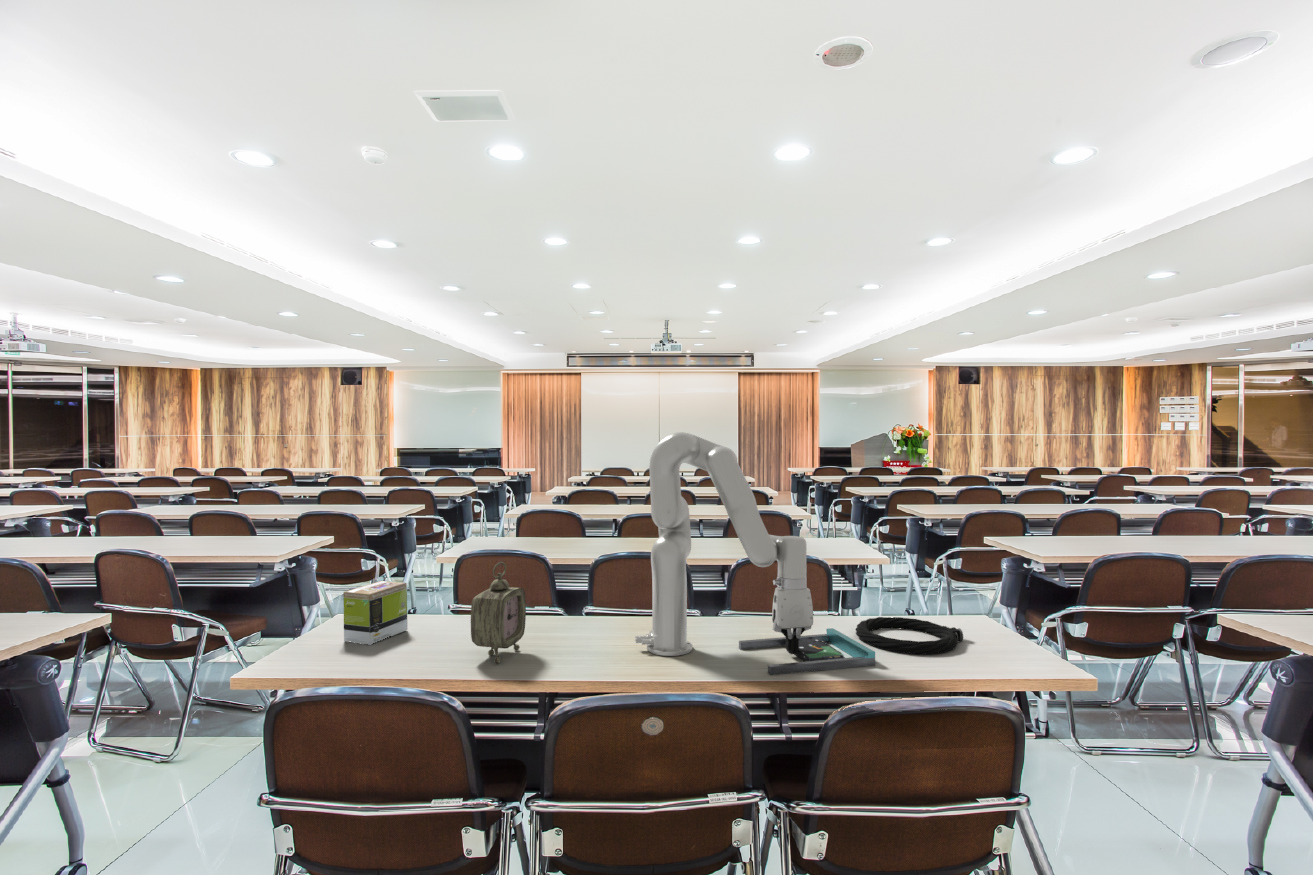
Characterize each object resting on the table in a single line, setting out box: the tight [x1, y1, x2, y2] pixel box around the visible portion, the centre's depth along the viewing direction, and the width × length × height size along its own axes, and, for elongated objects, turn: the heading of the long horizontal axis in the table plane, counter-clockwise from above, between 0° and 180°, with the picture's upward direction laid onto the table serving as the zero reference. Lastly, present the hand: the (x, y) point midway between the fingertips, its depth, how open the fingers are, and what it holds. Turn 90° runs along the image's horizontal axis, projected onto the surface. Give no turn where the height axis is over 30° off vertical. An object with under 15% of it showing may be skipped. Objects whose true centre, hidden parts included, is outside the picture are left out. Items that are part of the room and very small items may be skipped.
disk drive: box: [793, 638, 846, 662], centre depth 165 cm, size 10×3×15 cm
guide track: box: [738, 627, 876, 676], centre depth 165 cm, size 29×21×4 cm
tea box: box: [343, 580, 408, 646], centre depth 181 cm, size 15×10×15 cm
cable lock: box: [855, 616, 964, 656], centre depth 179 cm, size 28×4×30 cm
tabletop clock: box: [470, 561, 527, 665], centre depth 164 cm, size 14×9×25 cm, turn 166°
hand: (792, 652), depth 164 cm, fingers closed
